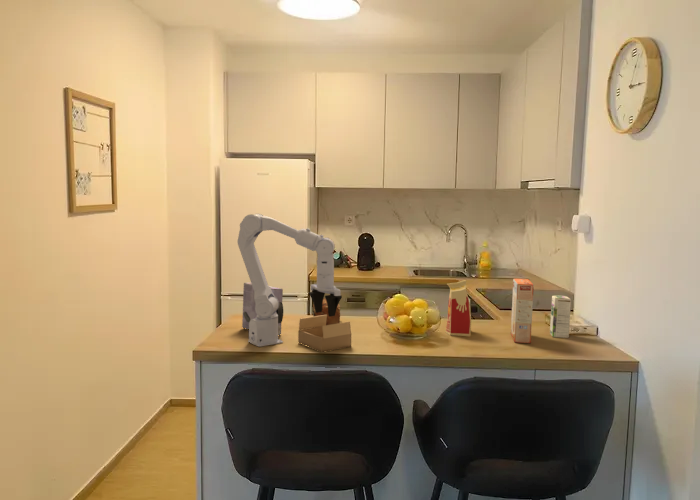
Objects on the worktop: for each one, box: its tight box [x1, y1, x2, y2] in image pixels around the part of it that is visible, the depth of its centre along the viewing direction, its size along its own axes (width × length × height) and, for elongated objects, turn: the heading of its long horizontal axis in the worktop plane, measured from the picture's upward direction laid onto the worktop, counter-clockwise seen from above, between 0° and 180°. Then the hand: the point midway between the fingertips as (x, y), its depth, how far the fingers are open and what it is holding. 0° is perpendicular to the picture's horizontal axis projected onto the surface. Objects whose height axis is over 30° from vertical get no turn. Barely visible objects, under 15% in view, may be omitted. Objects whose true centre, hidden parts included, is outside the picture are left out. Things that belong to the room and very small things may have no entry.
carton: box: [297, 326, 352, 353], centre depth 185 cm, size 12×14×4 cm
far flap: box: [298, 315, 327, 330], centre depth 190 cm, size 11×4×1 cm
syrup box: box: [549, 295, 572, 339], centre depth 201 cm, size 6×6×14 cm
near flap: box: [322, 321, 352, 339], centre depth 180 cm, size 11×4×1 cm
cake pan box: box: [241, 281, 284, 335], centre depth 201 cm, size 19×5×18 cm, turn 47°
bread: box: [312, 298, 341, 325], centre depth 215 cm, size 19×11×10 cm, turn 3°
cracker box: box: [510, 278, 535, 344], centre depth 196 cm, size 14×6×21 cm, turn 168°
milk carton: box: [445, 279, 472, 337], centre depth 204 cm, size 9×9×20 cm
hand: (325, 314), depth 185 cm, fingers open, 7 cm apart
